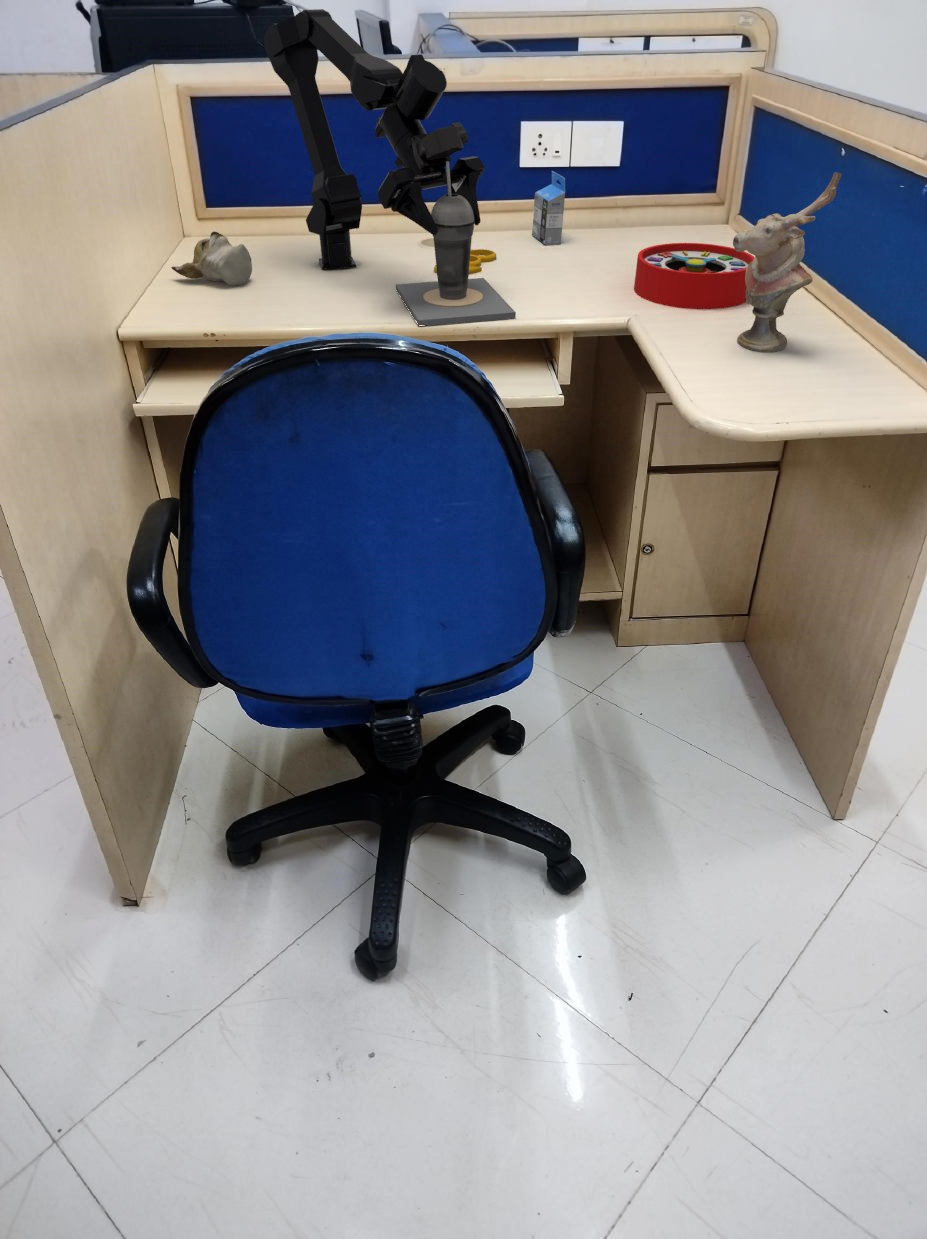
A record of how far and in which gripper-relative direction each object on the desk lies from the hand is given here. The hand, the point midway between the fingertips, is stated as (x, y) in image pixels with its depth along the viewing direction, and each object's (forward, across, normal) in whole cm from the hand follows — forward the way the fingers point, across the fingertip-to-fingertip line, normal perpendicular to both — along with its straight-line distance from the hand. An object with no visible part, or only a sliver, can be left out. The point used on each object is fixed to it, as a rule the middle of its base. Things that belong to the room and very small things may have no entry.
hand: (457, 228), depth 134 cm
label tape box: (-5, +43, +23) cm, 49 cm away
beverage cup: (+7, 0, +9) cm, 11 cm away
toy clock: (+25, +35, -7) cm, 43 cm away
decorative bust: (+40, +20, -22) cm, 50 cm away
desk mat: (+8, 0, +9) cm, 12 cm away
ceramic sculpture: (-20, -21, +38) cm, 48 cm away
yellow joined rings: (-3, +18, +21) cm, 28 cm away
